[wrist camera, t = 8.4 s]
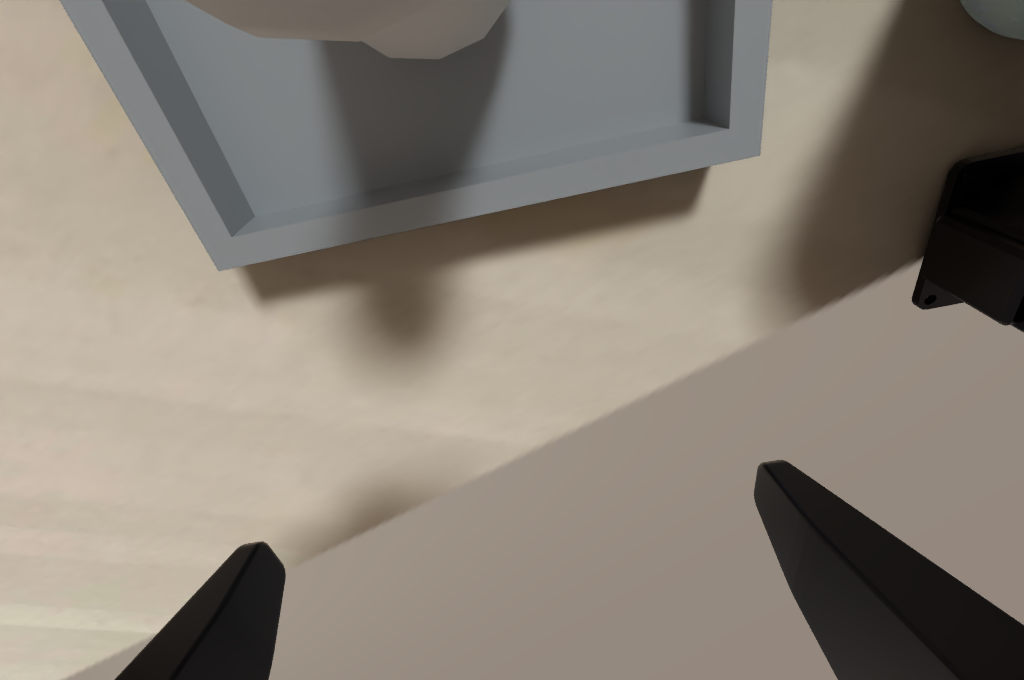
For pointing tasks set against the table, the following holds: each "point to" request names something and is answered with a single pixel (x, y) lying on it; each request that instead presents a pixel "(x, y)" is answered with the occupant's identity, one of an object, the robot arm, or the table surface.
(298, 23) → the salt shaker
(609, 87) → the tray
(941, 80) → the table surface
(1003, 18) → the teal cup
